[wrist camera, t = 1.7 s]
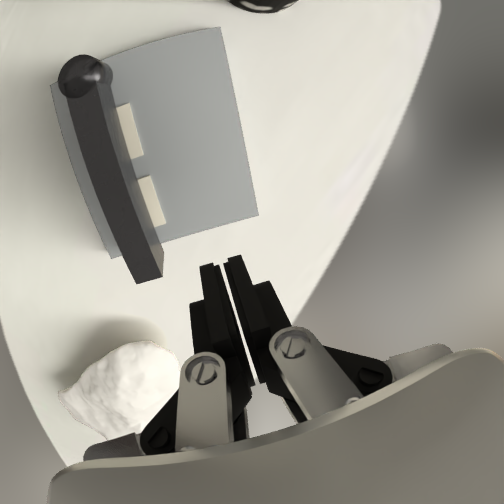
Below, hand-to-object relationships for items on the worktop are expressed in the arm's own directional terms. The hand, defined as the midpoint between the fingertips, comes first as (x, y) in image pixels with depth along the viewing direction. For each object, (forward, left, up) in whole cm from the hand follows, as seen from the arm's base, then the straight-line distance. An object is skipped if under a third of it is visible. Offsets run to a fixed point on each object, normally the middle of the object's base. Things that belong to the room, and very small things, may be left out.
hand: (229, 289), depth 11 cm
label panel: (-4, -3, -18) cm, 19 cm away
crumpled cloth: (+29, -22, -18) cm, 41 cm away
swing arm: (-4, -6, -14) cm, 16 cm away
